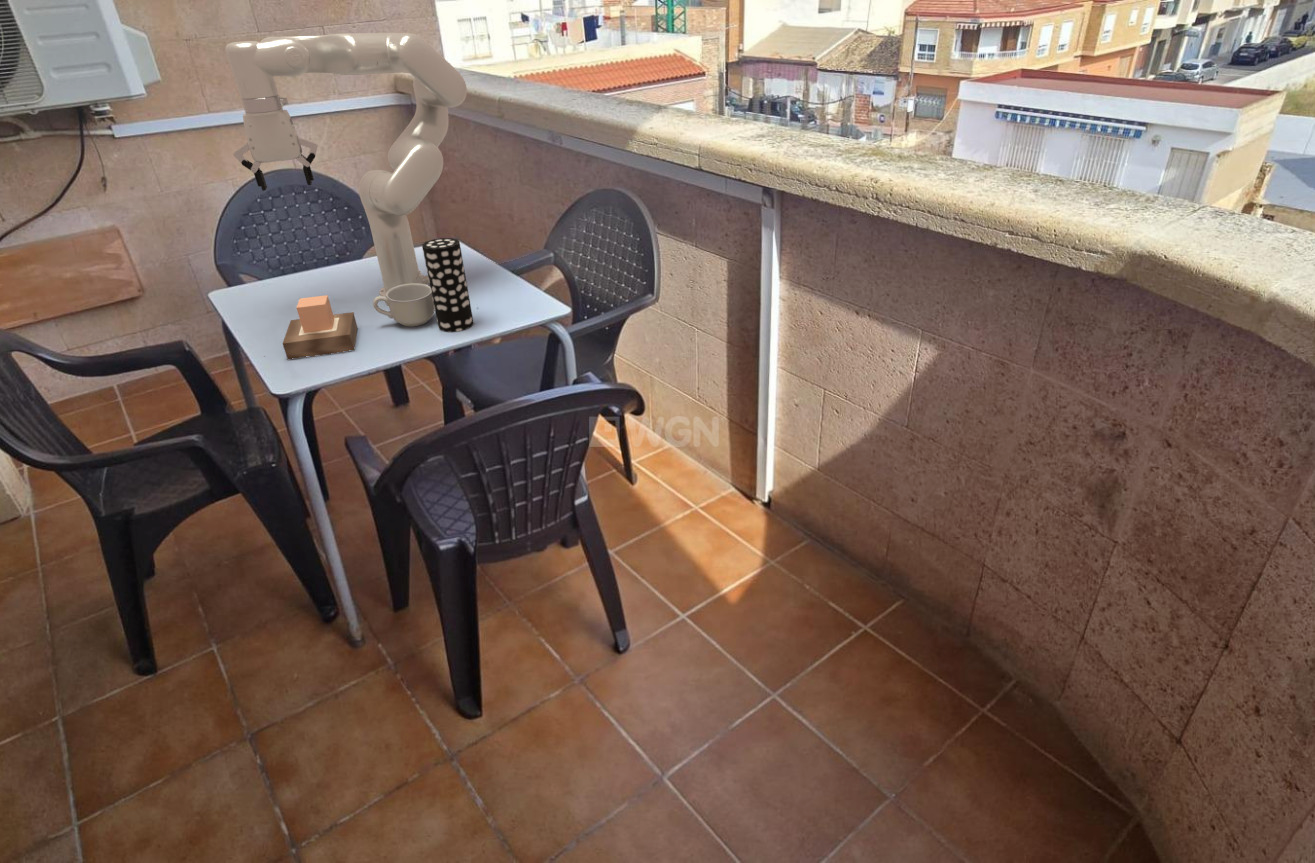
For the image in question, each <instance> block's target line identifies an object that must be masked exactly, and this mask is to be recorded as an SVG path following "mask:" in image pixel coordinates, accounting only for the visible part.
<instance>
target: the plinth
mask: <svg viewBox="0 0 1315 863" xmlns="http://www.w3.org/2000/svg"><path fill="white" fill-rule="evenodd" d="M333 316H334V319H335V320H334V324H333V328H332V329H330V330H323V331H315V332H307V333H304V331H303V328H302V325H301V321H300V318H298V319H297V318H296V319H290V321H289V324H288V326H287V329H286V333H285V335H284V339H283V340H282V346H283V349H284V352H285V355H286V356H285V357H286V358H287V360H288V359H291V360H293V359H292V358H299V357H306V356H313V357H316V356H315V355H320V356H324V355H323V354H327V355H332V354H331V353H334V354H338V353H337V352H341V353H344V352H343V351H348V352H350V351H349V350H354V351H355V349H354V347H355V348H356V342H355V341H357V335H356V334H358V328H357V327H358V324H357V320H356V316H355V313H354V311H353V312H345V313H336V314H333ZM306 358H307V357H306ZM299 359H300V358H299Z"/></svg>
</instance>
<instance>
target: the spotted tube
mask: <svg viewBox="0 0 1315 863" xmlns="http://www.w3.org/2000/svg"><path fill="white" fill-rule="evenodd" d="M421 246H422V253H423V257H424V262H425V266H426V273H427V276H428V278H429V283H430V284H429V286H430V288H431V293H432V298H433V303H434V308H435V311H434V314H435V316H436V321H437V327H438V329H439V330H440V331H442V332H448V333H455V332H461V331H465V330H468V329H469V328H471V327H472V326H474V317H473V312H472V306H471V305H472V304H471V301H470V294H469V289H468V284H467V278H466V272H465V266H464V260H463V255H462V248H461V243H460V240H459V239H457V238H453V237H452V238H451V237H441V238H434V239H430V240H427V241H425V242H423V243H422V244H421Z"/></svg>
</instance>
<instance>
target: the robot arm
mask: <svg viewBox="0 0 1315 863" xmlns="http://www.w3.org/2000/svg"><path fill="white" fill-rule="evenodd" d="M225 53H226V57H227V60H228V64H229V66H230V69H231V70H230V71H231V72H232V75H233V78H234V82H235V85H236V87H237V88H236V89H237V91H238V94H239V97H240V100H241V103H242V106H243V109H244V113H243V114H242V118H243V127H244V131H245V132H244V133H245V136H246V139H247V142H246V143H245V144H243V145H242V146H241V147H240V148H238V149H236V150H235V151H234V153H233V156H234V157H235V158H236V159H237V161H238V162H239V163H240V164H241V165H242V166H243V167H245V168H246V169H248V170H249V171H250V172H251V173H253V175H254V177H255V180H256V184H257V186H258V187H260V188H261V190H262V191H266V190H267V189H268V185H267V182H266V180H265V176H264V173H263V171H262V169H260V166H261V164H262V163H263V164H264V163H274V162H275V163H276V162H282V161H283V162H285V161H291V160H292V161H293V160H297V161H298V162H299V163H301V164H302V166H303V167H302V171H303V174H304V176H305V180H306V184H307V186H312V185H313V184H312V182H313V181H315V179H314V175H313V171H312V168H311V165H312V163H313V161H314V160H315V158H316V155H317V151H318V144H317V143H316V142H313V141H311V140H307V139H305V138H302V137H299V135H298V133H297V130H296V126H295V124H294V122H293V119H292V118H291V115H290V114H289V113H290V112H289V111H288V110H287V109H283V108H284V106H286V105H287V106H288V105H289V101H288V98H287V97H282V96H280V94H279V91H278V88H277V84H276V82H275V78H274V77H289V78H290V77H291V78H292V77H300V76H302V75H303V74H308V73H310V74H311V73H312V74H314V73H316V74H317V73H319V74H333V75H338V76H339V75H340V76H361V75H379V74H384V75H385V74H400V73H404V74H410V75H411V76H412V77H413V82H412V84H413V86H412V88H413V92H414V97H415V100H416V102H415V103H416V107H415V108H416V109H415V113H414V115H413V117H412V118H411V120H410V122H409V123H408V124H407V126H406V127H405V128H404V129H403V131H402V132H401V133H400V135H399V136H398V137H397V139H396V140H395V141H394V143H393V144H392V145H391V147H390V148H389V150H388V154H387V160H388V164H389V166H390V167H391V168H392V170H394V171H393V172H392V171H387V170H384V169H372V170H368V171H366V172H365V173H364V174H363V176H362V177H361V178H360V180H359V183H358V195H359V198H360V201H361V205H362V206H363V209H364V212H365V214H366V217H367V220H368V224H369V226H370V227H369V228H370V232H371V235H372V240H373V241H372V242H373V245H374V248H375V253H376V257H377V262H378V265H379V271H380V275H381V278H382V283H383V287H381V288H380V289H379V296H384V297H386V293H387V292H388V290H390V289H391V288H393V287H396V286H399V285H404V284H411V283H419V284H425V285H430V283H429V278H428V275H424V274H422V272H421V270H419V266H418V261H417V256H416V251H415V247H414V242H413V237H412V233H411V226H410V222H409V219H408V216H407V215H409V214H410V213H412V212H413V211H415V210H416V208H417V207H418V206H419V205H420V204H421V202H422V201H423V200H424V199H425V197H426V196H427V195H428V193H430V191H431V189H432V188H433V187H434V185H435V184H436V183H437V181H438V180H439V178H440V176H441V175H442V172H443V169H444V157H443V153H442V151H441V150H440V148H439V147H440V145H441V143H442V142H443V141H444V139H445V137H446V136H447V133H448V130H449V122H450V121H449V108H457V107H459V106H460V105H461V104H463V103H464V101H465V100H466V98H467V94H468V88H467V84H466V83H467V82H466V81H465V79H464V77H463V75H462V74H461V73H460V72H459V71H458V70H457V68H455V67H454V66H453V65H452V64H451V63H450V62H449V61H447V59H445V57H444V56H442V55H441V54H440V53H439V52H438V51H437V50H436V49H435V48H434V47H433V46H432V45H431V44H429V43H428V42H427V41H426V40H425V39H424V38H422V37H421V36H420V35H417V34H415V33H411V32H358V33H357V32H347V33H346V32H343V33H331V34H330V33H329V34H324V35H304V36H303V35H299V36H298V35H297V36H266V37H265V38H263V39H261V40H260V41H257V40H245V41H244V40H241V41H235V42H229V43H227V44H226V46H225ZM302 146H303V147H306V148H308V149H310V150H309V151H310V152H309V154H308V156H307V157H306V156H305V155H303V149H302ZM248 151H250V153H251V154H250V155H251V156H252V160H254V162H251V161H250V160H248V159H246V157H245V156H244V154H246V153H247V152H248Z"/></svg>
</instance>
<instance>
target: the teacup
mask: <svg viewBox="0 0 1315 863" xmlns="http://www.w3.org/2000/svg"><path fill="white" fill-rule="evenodd" d="M380 301H382V302H384V303H385V304H386V306H387V307H388V309H389V311H388V310H385V309H382V308H380V307H379V306H378V302H380ZM372 307H373V309H374V310H375V311H376V312H377V313H379V314H381V315H384V316H387V317H388V318H389V319H393V320H394V321H395V322H397V323H399V324H400V325H402V326H405V327H419V326H421V325H424V324H426V323H427V322H429V321H430V320H431V318H433V316H434V315H435V308H434V303H433V298H432V293H431V288H430V285H429V284H427V285H425V284H419V283H411V284H404V285H399V286H396V287H393V288H391V289H390V290H388V292H387V293H386V297H384V296H380V295H378V296H376V297H374V298H373V301H372Z"/></svg>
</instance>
